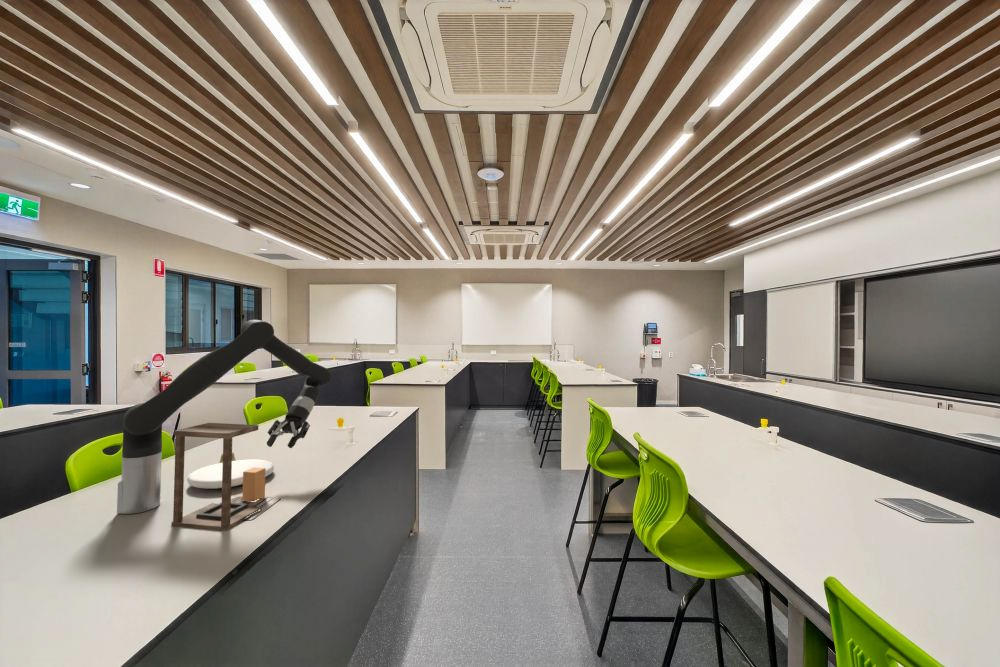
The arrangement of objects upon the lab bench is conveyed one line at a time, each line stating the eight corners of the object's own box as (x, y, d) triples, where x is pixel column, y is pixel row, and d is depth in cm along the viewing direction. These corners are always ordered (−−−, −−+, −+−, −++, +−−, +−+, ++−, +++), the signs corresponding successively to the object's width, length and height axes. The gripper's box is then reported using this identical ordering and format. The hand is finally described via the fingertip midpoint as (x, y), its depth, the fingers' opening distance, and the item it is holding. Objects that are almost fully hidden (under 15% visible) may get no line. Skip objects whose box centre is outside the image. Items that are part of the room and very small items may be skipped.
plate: (226, 456, 160) (288, 457, 159) (225, 472, 159) (287, 473, 158) (168, 471, 132) (242, 473, 132) (165, 491, 131) (240, 493, 131)
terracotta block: (253, 496, 130) (253, 467, 130) (264, 497, 129) (265, 468, 130) (242, 501, 126) (243, 471, 126) (254, 502, 125) (255, 472, 125)
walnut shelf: (212, 506, 122) (214, 421, 123) (261, 510, 119) (263, 423, 120) (171, 525, 109) (174, 430, 110) (225, 530, 106) (228, 433, 107)
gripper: (280, 403, 149) (256, 440, 138) (312, 405, 147) (291, 442, 135) (289, 414, 154) (267, 450, 143) (320, 416, 152) (301, 452, 141)
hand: (279, 446), depth 139 cm, fingers open, 8 cm apart
